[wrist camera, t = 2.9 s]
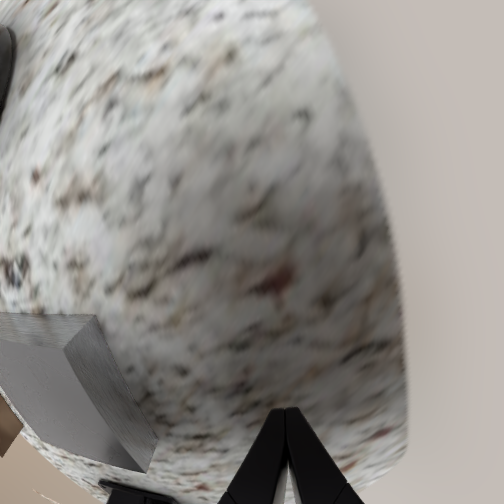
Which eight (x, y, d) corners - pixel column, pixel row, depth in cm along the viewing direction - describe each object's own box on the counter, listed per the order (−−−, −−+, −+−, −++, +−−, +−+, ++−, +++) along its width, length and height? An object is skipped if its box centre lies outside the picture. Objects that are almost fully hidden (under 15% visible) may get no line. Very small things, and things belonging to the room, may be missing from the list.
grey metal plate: (160, 433, 11) (146, 473, 8) (59, 412, 11) (41, 439, 9) (100, 309, 9) (61, 349, 6) (2, 308, 9) (-29, 332, 7)
